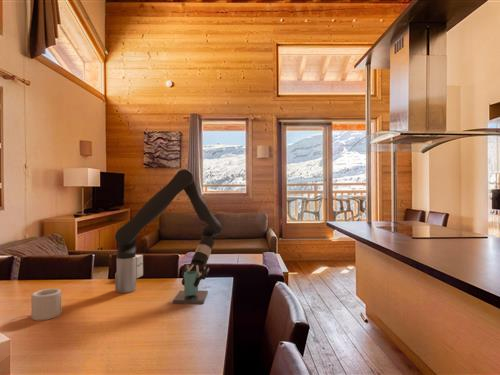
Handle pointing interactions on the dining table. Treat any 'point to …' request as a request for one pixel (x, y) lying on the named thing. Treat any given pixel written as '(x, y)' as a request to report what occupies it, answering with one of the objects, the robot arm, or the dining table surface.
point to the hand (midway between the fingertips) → (189, 285)
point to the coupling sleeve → (190, 283)
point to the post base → (190, 298)
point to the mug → (46, 304)
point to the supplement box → (139, 266)
